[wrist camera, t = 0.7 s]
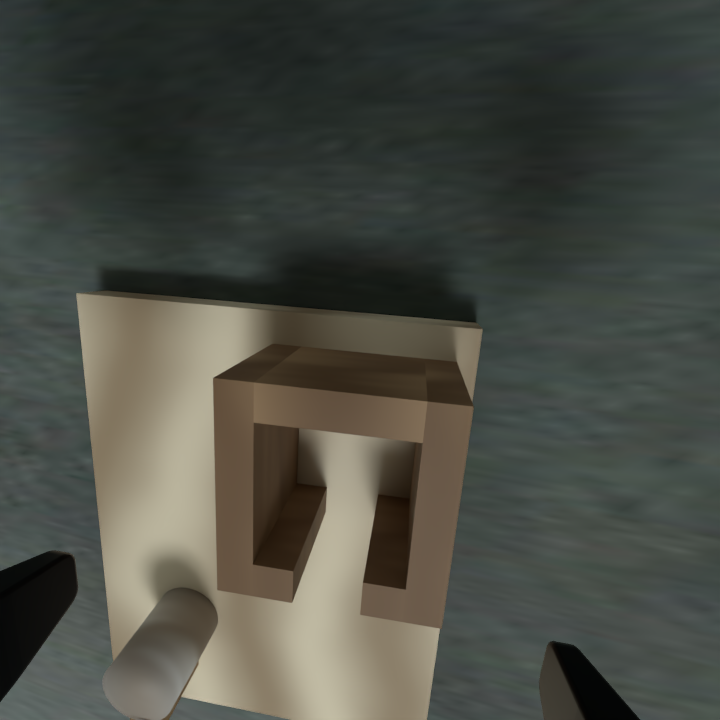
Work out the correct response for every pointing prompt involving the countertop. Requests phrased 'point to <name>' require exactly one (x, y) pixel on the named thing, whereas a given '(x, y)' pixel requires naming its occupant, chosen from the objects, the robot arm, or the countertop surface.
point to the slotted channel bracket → (308, 502)
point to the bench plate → (198, 516)
